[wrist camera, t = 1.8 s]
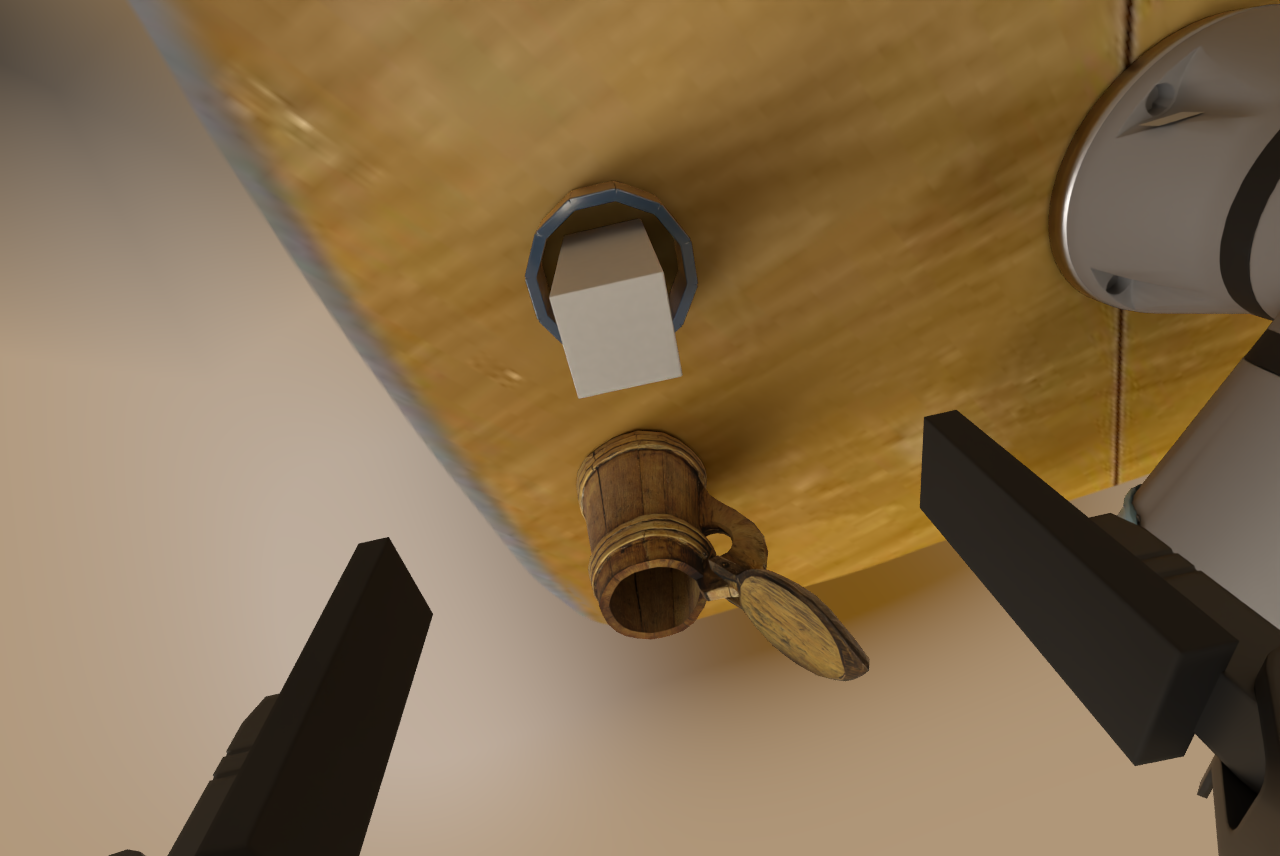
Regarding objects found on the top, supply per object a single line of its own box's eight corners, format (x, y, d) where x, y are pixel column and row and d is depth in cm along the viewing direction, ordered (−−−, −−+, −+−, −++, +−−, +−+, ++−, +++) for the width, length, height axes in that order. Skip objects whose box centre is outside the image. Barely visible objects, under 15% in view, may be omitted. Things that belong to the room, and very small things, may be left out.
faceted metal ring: (672, 166, 30) (681, 172, 27) (696, 320, 35) (707, 341, 32) (513, 203, 31) (504, 213, 28) (557, 351, 35) (553, 374, 32)
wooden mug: (774, 497, 42) (883, 729, 26) (600, 546, 43) (604, 798, 27) (750, 394, 37) (864, 598, 22) (558, 452, 39) (534, 686, 23)
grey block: (640, 218, 31) (663, 271, 21) (655, 294, 34) (682, 376, 23) (563, 235, 32) (548, 297, 21) (583, 310, 34) (578, 399, 23)
